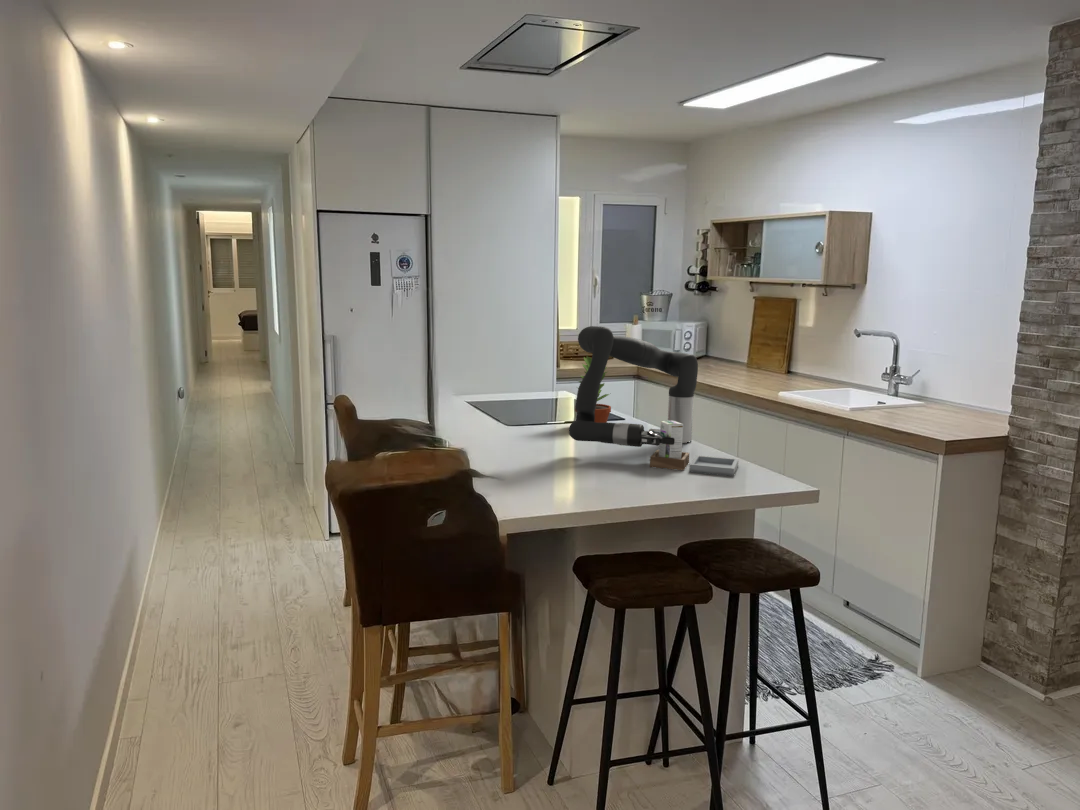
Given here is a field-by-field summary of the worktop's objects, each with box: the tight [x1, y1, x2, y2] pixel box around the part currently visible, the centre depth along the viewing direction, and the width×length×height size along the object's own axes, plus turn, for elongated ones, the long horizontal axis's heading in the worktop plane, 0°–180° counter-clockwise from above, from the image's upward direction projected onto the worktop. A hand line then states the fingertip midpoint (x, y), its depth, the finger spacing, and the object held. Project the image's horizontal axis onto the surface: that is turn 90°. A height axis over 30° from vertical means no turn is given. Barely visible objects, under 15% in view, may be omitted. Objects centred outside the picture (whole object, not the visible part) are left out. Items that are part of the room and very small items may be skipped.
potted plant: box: [574, 354, 612, 423], centre depth 326 cm, size 15×15×30 cm
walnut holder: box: [649, 449, 690, 471], centre depth 269 cm, size 11×11×4 cm
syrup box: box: [658, 420, 683, 459], centre depth 268 cm, size 6×6×14 cm
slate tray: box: [688, 454, 740, 477], centre depth 264 cm, size 14×14×2 cm
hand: (676, 438), depth 267 cm, fingers closed on syrup box, 8 cm apart
